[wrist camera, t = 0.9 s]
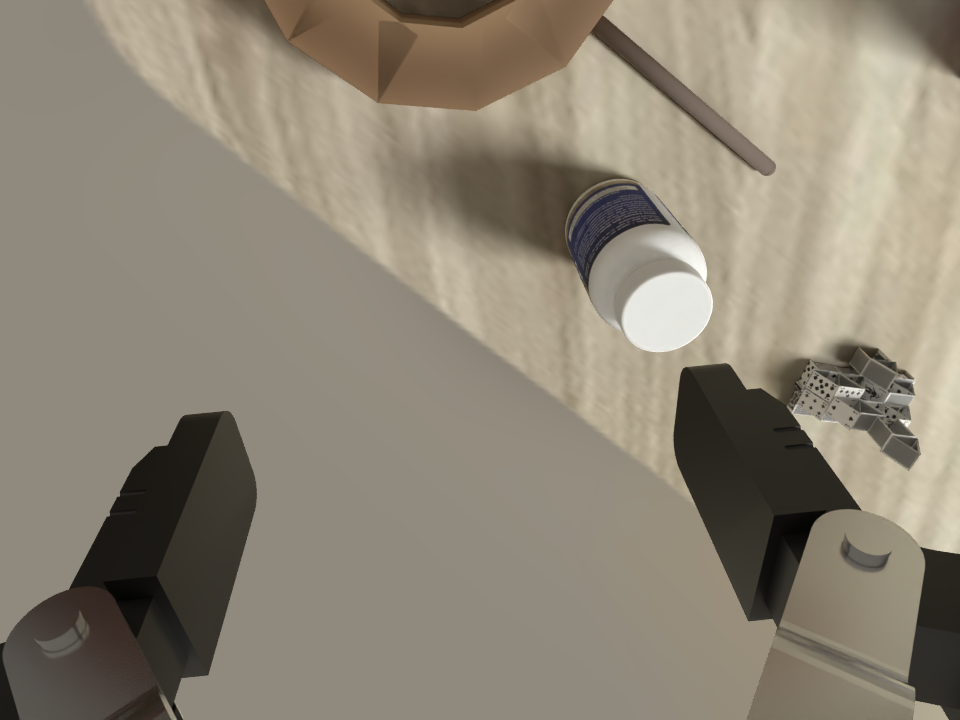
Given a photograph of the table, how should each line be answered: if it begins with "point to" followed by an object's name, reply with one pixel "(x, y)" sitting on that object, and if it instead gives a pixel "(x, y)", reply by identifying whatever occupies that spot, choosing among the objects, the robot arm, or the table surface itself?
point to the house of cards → (862, 401)
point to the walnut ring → (439, 46)
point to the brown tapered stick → (682, 95)
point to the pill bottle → (639, 265)
